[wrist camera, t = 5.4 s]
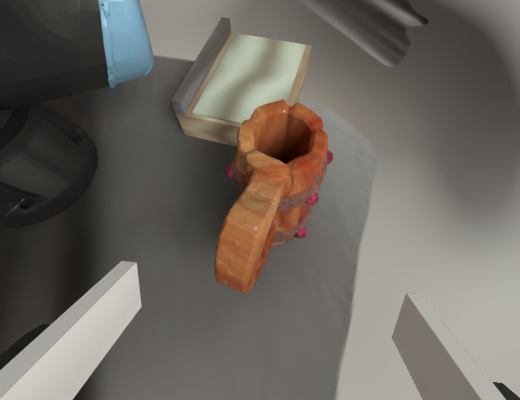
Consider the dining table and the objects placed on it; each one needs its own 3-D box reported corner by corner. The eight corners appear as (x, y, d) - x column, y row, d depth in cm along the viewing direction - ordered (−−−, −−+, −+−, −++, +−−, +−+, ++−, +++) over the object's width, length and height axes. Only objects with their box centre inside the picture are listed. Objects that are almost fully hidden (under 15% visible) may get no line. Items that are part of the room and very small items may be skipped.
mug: (256, 173, 32) (252, 65, 18) (317, 193, 30) (362, 92, 17) (206, 283, 26) (142, 246, 12) (279, 314, 24) (298, 310, 11)
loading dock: (185, 134, 35) (170, 101, 29) (227, 55, 42) (222, 17, 37) (281, 156, 33) (284, 124, 27) (307, 70, 40) (314, 31, 35)
